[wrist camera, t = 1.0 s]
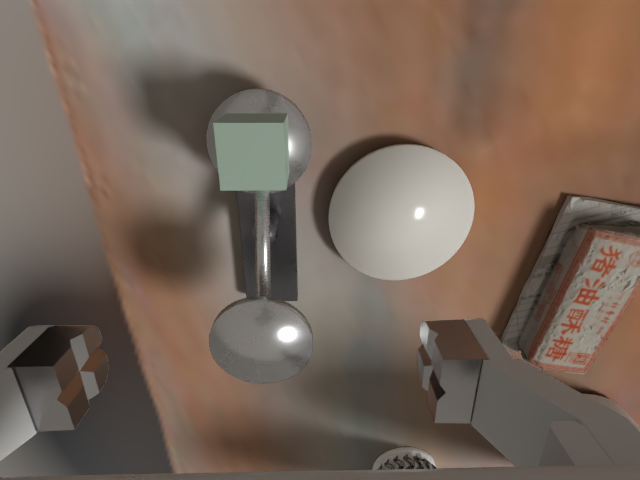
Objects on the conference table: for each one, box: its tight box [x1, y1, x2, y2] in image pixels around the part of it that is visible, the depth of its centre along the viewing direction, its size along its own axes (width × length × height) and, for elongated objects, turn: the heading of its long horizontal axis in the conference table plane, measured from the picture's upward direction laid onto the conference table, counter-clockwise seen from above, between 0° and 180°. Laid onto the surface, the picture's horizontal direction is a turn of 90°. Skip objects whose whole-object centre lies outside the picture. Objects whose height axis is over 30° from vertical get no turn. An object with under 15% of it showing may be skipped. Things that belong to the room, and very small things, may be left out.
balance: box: [206, 89, 313, 383], centre depth 32 cm, size 22×8×10 cm, turn 0°
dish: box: [328, 144, 474, 280], centre depth 36 cm, size 13×13×2 cm
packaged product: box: [500, 195, 640, 375], centre depth 39 cm, size 18×5×10 cm
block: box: [213, 113, 289, 191], centre depth 28 cm, size 4×4×4 cm
